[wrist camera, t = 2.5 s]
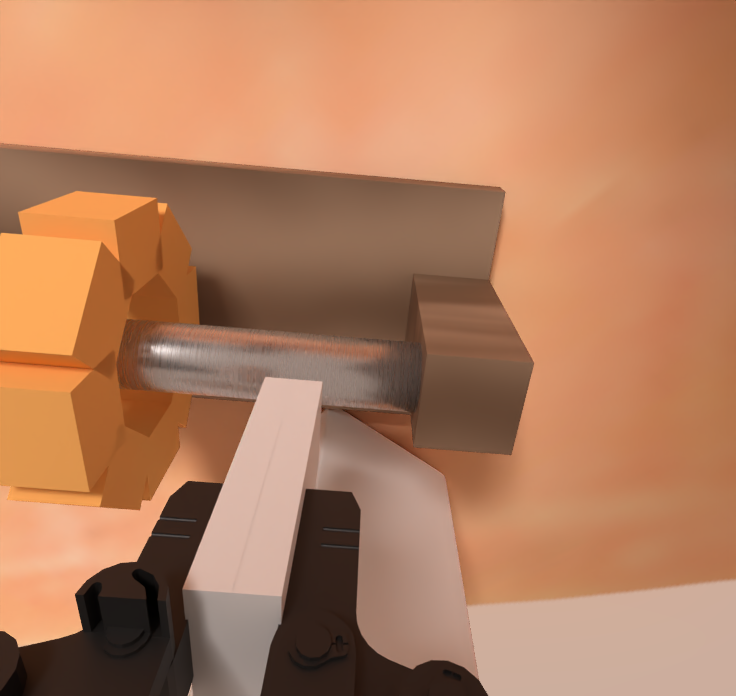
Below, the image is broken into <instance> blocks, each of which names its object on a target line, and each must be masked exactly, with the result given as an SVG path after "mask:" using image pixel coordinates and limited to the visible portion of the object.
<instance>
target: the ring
mask: <svg viewBox="0 0 736 696" xmlns="http://www.w3.org/2000/svg"><path fill="white" fill-rule="evenodd" d="M18 215H19V220H20V224H21V229H22V234H23V235H22V234H10V233H1V235H0V485H1V486H11V487H10V491H9V495H8V498H7V500H16V501H28V502H40V503H53V504H65V505H78V506H92V507H105V508H118V509H131V510H140V507H141V502H142V500H149V501H151V499H152V497H153V495H154V493H155V491H156V490H157V488H158V486H159V484H160V482H161V481H162V479H163V477H164V475H165V473H166V471H167V470H168V468H169V466H170V464H171V462H172V460H173V459H174V457H175V455H176V453H177V451H178V449H179V448H180V441H179V430H178V427H184V428H186V426H187V420H188V415H189V409H190V403H191V398H192V394H180V393H167V392H155V391H142V390H130V389H119V382H118V375H117V368H116V362H117V357H118V353H119V349H120V344H121V340H122V336H123V331H124V327H125V323H126V319H137V320H149V321H161V322H173V323H186V324H198V325H200V323H199V307H198V292H197V276H196V266H189V261H190V256H191V251H192V248H191V246H190V244H189V243H188V241H187V239H186V237H185V235H184V233H183V232H182V230H181V228H180V226H179V224H178V222H177V221H176V219H175V217H174V215H173V213H172V211H171V210H170V208H169V206H168V204H167V203H158V202H157V198H151V197H140V196H128V195H117V194H105V193H94V192H82V191H75V192H72V193H70V194H67V195H64V196H61V197H59V198H56V199H53V200H50V201H48V202H45V203H42V204H39V205H37V206H34V207H31V208H28V209H25V210H23V211H20V212H18Z"/></svg>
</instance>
